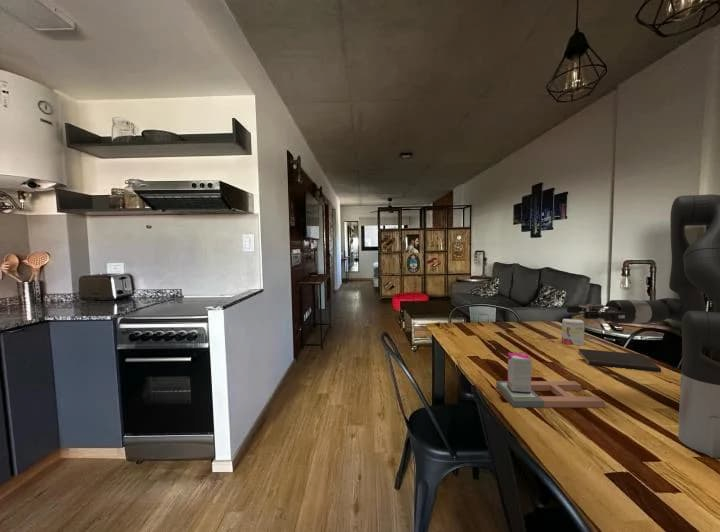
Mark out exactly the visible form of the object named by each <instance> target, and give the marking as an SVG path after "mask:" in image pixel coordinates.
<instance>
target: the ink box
mask: <svg viewBox="0 0 720 532" xmlns="http://www.w3.org/2000/svg"><path fill="white" fill-rule="evenodd" d="M561 322H562V323H561V325H562V326H561V343H563V345H568V346H569V345H570V346H583V347H584V345H585V322H584V321H583V319H574V318H573V319H572V318H563V319H562V321H561Z"/></svg>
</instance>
